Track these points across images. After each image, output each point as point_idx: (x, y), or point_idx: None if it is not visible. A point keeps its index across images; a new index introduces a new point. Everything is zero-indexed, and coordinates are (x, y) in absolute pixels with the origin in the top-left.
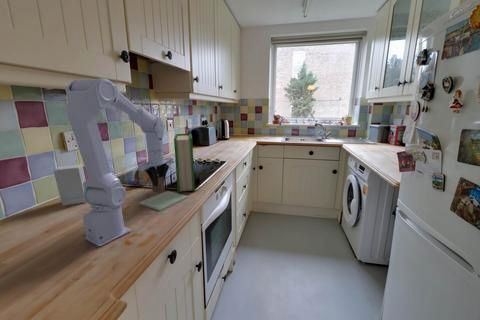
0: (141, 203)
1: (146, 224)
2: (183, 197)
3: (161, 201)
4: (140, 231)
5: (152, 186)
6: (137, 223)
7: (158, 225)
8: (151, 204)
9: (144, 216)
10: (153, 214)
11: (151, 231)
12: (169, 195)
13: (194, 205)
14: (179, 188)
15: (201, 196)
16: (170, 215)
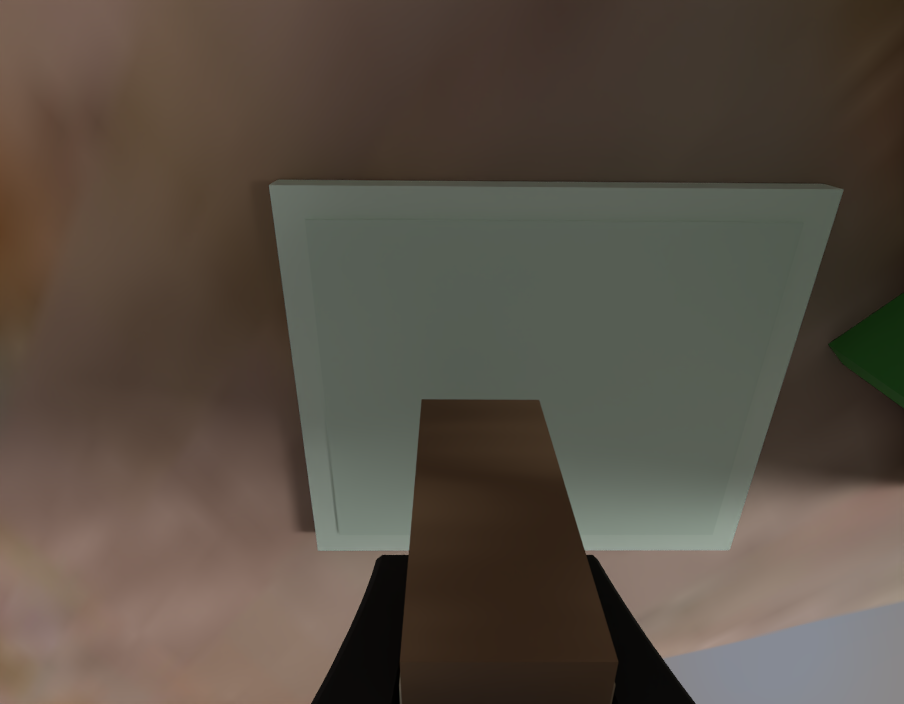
0: (278, 230)
1: (100, 611)
2: (675, 541)
3: None
4: (21, 648)
5: (417, 464)
6: (45, 552)
7: (164, 676)
8: (324, 405)
9: (151, 503)
10: (235, 534)
11: (86, 693)
12: (665, 373)
13: None
14: (894, 401)
15: (805, 605)
16: (323, 642)
